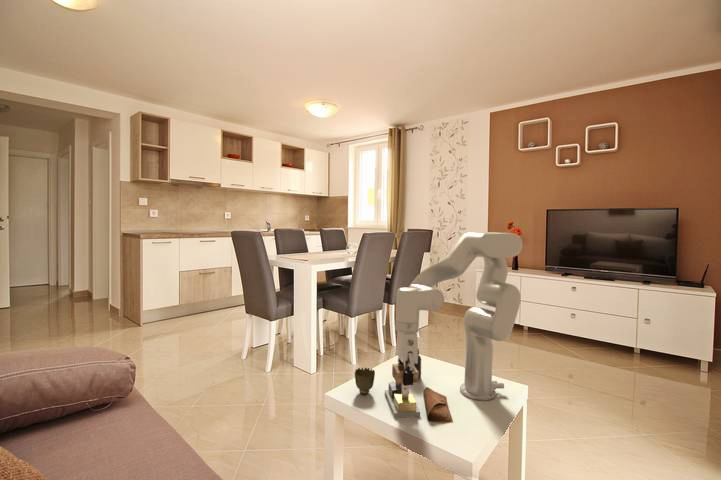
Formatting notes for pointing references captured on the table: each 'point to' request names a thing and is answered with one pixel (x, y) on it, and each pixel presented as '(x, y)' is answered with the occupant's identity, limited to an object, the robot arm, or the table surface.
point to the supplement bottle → (418, 365)
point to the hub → (405, 400)
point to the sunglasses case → (436, 406)
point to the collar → (398, 373)
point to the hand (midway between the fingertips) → (404, 379)
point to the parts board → (394, 410)
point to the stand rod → (395, 388)
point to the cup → (364, 380)
